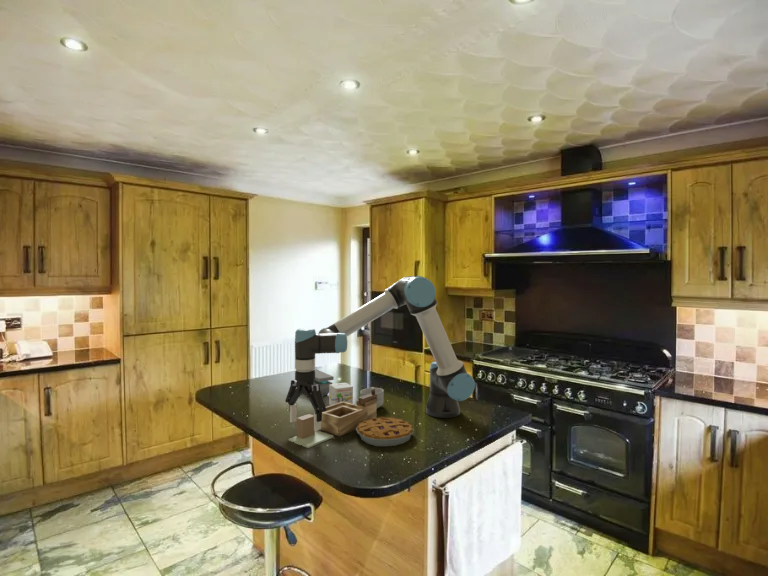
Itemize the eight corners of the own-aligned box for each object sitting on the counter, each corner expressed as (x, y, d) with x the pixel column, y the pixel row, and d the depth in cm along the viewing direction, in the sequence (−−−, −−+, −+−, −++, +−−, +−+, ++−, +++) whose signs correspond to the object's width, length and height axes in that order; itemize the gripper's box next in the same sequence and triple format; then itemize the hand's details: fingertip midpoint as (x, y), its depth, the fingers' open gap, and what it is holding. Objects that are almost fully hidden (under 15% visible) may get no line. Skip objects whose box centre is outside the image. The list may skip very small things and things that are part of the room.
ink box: (335, 414, 185) (335, 388, 184) (328, 409, 192) (328, 383, 192) (353, 412, 188) (353, 386, 188) (345, 406, 196) (346, 381, 196)
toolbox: (378, 420, 178) (378, 399, 178) (339, 436, 160) (339, 413, 160) (353, 413, 187) (353, 393, 186) (314, 427, 169) (314, 406, 168)
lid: (333, 438, 159) (333, 417, 159) (308, 448, 149) (308, 426, 149) (314, 431, 166) (314, 411, 165) (288, 441, 156) (288, 420, 155)
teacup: (380, 411, 189) (381, 394, 189) (357, 410, 191) (357, 392, 191) (386, 402, 203) (387, 386, 202) (364, 401, 205) (365, 384, 205)
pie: (368, 452, 146) (368, 438, 146) (348, 431, 166) (348, 418, 166) (424, 443, 155) (424, 429, 155) (398, 423, 175) (398, 411, 175)
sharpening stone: (333, 398, 209) (333, 376, 209) (319, 401, 204) (319, 378, 204) (311, 387, 229) (311, 367, 229) (298, 389, 225) (298, 369, 225)
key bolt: (376, 400, 181) (377, 389, 180) (363, 405, 174) (363, 393, 173) (372, 399, 182) (372, 388, 182) (358, 404, 175) (358, 392, 175)
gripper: (335, 372, 154) (335, 430, 155) (291, 363, 169) (291, 415, 170) (320, 376, 148) (320, 436, 149) (276, 366, 164) (276, 420, 164)
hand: (305, 425), depth 159 cm, fingers open, 13 cm apart
